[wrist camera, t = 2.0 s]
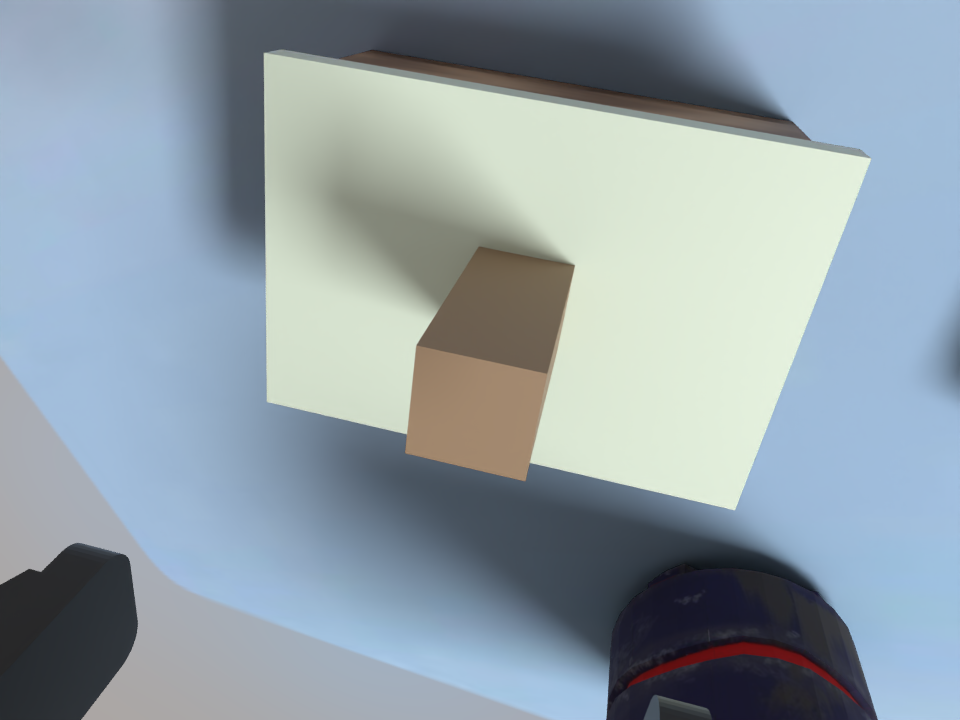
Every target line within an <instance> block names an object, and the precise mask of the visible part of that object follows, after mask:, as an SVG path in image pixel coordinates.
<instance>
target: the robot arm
mask: <svg viewBox="0 0 960 720" xmlns="http://www.w3.org/2000/svg"><path fill="white" fill-rule="evenodd" d="M137 627H138V620H137V613H136V605H135V597H134V590H133V583H132V575H131V567H130V561H129V559H128V557H126V555H123V554H120V553H116V552H112V551H109V550H104V549H101V548H97V547H93V546H89V545H85V544H82V543H75V544H72V545H70V546H69V547H67V548H66V549H65V550H64V551H62V552H61V553H60V554H59V555H58V556H57V557H56V558H55V559H54V560H53V561H52V562H51V563H50V564H49V565H48V566H47V567H46V568H45V569H44V570H43V571H42V572H38V571H35V570H31V569H28V570H26V571H25V572H23V573H21V574H19V575H18V576H16V577H14V578H12V579H10V580H8V581H7V582H5V583H3V584H1V585H0V720H81V719H82V718H83V717H84V715H85V714H86V713H87V711H88V710H89V709H90V707H91V706H92V704H93V703H94V702H95V701H96V699H97V698H98V697H99V696H100V694H101V693H102V692H103V690H104V689H105V688H106V686H107V685H108V684H109V682H110V681H111V680H112V678H113V677H114V676H115V674H116V673H117V672H118V671H119V669H120V668H121V667H122V665H123V664H124V662H125V661H126V659H127V657H128V655H129V653H130V651H131V649H132V647H133V644H134V641H135V638H136V634H137ZM644 720H712V718H711V714H710V711H709V710H708V709H707V708H704V707H700V706H696V705H692V704H689V703H685V702H681V701H677V700H673V699H669V698H666V697H662V696H658V695H654V696H653V697H652V699H651V701H650V704H649V707H648V709H647V712H646V714H645V717H644Z"/></svg>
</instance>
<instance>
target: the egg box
mask: <svg viewBox="0 0 960 720" xmlns="http://www.w3.org/2000/svg"><path fill="white" fill-rule="evenodd" d="M339 59H341V60H347V61H353V62H358V63H364V64H370V65H376V66H382V67H387V68H393V69H399V70H405V71H410V72H416V73H422V74H428V75H434V76H439V77H445V78H451V79H457V80H462V81H468V82H474V83H480V84H486V85H491V86H497V87H503V88H509V89H514V90H520V91H526V92H532V93H538V94H543V95H549V96H555V97H561V98H566V99H572V100H578V101H584V102H590V103H595V104H601V105H607V106H613V107H618V108H624V109H630V110H636V111H642V112H647V113H653V114H659V115H665V116H670V117H676V118H682V119H688V120H694V121H699V122H705V123H711V124H717V125H722V126H728V127H734V128H740V129H746V130H751V131H757V132H763V133H769V134H774V135H780V136H786V137H792V138H798V139H803V140H809V141H811V140H810V139H809V138H808V137H807V136H806V135H805V134H804V133H803V132H802V131H801V130H800V129H799V128H798V127H797V126H796V125H795V124H794V123H793V122H792V121H786V120H780V119H774V118H768V117H762V116H756V115H751V114H745V113H739V112H733V111H727V110H721V109H715V108H710V107H704V106H698V105H692V104H686V103H680V102H674V101H669V100H663V99H657V98H651V97H645V96H639V95H633V94H628V93H622V92H616V91H610V90H604V89H598V88H592V87H587V86H581V85H575V84H569V83H563V82H557V81H551V80H546V79H540V78H534V77H528V76H522V75H516V74H510V73H504V72H499V71H493V70H487V69H481V68H475V67H469V66H463V65H458V64H452V63H446V62H440V61H434V60H428V59H422V58H417V57H411V56H405V55H399V54H393V53H387V52H381V51H376V50H370V51H366V52H362V53H358V54H355V55H351V56H347V57H343V58H339Z"/></svg>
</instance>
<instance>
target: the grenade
mask: <svg viewBox="0 0 960 720" xmlns="http://www.w3.org/2000/svg"><path fill="white" fill-rule="evenodd" d="M654 695H658V696H662V697H666V698H669V699H673V700H677V701H681V702H685V703H689V704H692V705H696V706H700V707H704V708H707V709H708V710H709V711H710V714H711V718H712V720H878V719H877V716H876V713H875V710H874V706H873V703H872V700H871V697H870V693H869V690H868V687H867V684H866V680H865V677H864V674H863V671H862V667H861V664H860V661H859V658H858V654H857V651H856V648H855V645H854V642H853V640H852V637H851V635H850V632H849V629H848V627H847V626H846V624H845V623H844V622H843V620H842V619H841V618H840V616H839V615H838V614H837V613H836V611H835V610H834V609H833V608H832V607H831V606H829V605H828V604H827V603H826V602H825V601H824V600H823V599H822V597H821V596H820V595H819V593H818V592H816V591H809V590H807V589H805V588H803V587H801V586H799V585H797V584H795V583H793V582H792V581H790V580H787V579H783V578H780V577H777V576H773V575H770V574H767V573H763V572H758V571H750V570H743V569H735V568H723V569H702V570H696V569H694V568H693V567H691V566H688V565H686V564H682V565H679V566H677V567H675V568H672V569H670V570H668V571H665V572H664V573H662V574H661V575H660V576H658V577H657V578H655V579H654V580H653V581H651V582H650V583H648V588H647V589H646V590H644V591H643V592H641V593H640V594H639V595H637V596H636V597H634V598H633V599H632V601H631V602H630V603H629V604H628V605H627V606H626V608H625V609H624V610H623V611H622V612H621V613H620V615H619V618H618V620H617V622H616V625H615V627H614V629H613V632H612V641H611V652H610V670H609V687H608V705H607V719H606V720H644V717H645V714H646V712H647V709H648V707H649V704H650V701H651V699H652V697H653V696H654Z"/></svg>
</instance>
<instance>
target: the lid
mask: <svg viewBox="0 0 960 720" xmlns="http://www.w3.org/2000/svg"><path fill="white" fill-rule="evenodd" d="M264 133H265V246H266V359H267V402H269V403H274V404H278V405H282V406H287V407H291V408H295V409H300V410H304V411H308V412H313V413H317V414H321V415H326V416H330V417H334V418H339V419H343V420H347V421H352V422H356V423H360V424H365V425H369V426H373V427H377V428H382V429H386V430H390V431H395V432H399V433H403V434H407V439H406V449H405V453H406V454H411V455H415V456H419V457H423V458H428V459H432V460H436V461H440V462H445V463H449V464H453V465H457V466H462V467H466V468H470V469H475V470H479V471H483V472H487V473H492V474H496V475H500V476H504V477H509V478H513V479H517V480H521V481H526V477H527V472H528V468H529V464H530V463H533V464H537V465H542V466H546V467H550V468H555V469H559V470H563V471H568V472H572V473H576V474H581V475H585V476H589V477H593V478H598V479H602V480H606V481H611V482H615V483H619V484H624V485H628V486H632V487H637V488H641V489H645V490H650V491H654V492H658V493H663V494H667V495H671V496H676V497H680V498H684V499H689V500H693V501H697V502H701V503H706V504H710V505H714V506H719V507H723V508H727V509H732V510H735V509H736V506H737V503H738V501H739V498H740V496H741V493H742V491H743V488H744V485H745V483H746V480H747V478H748V475H749V473H750V470H751V467H752V465H753V462H754V460H755V457H756V454H757V452H758V449H759V447H760V444H761V442H762V439H763V436H764V434H765V431H766V429H767V426H768V424H769V421H770V418H771V416H772V413H773V411H774V408H775V406H776V403H777V400H778V398H779V395H780V393H781V390H782V388H783V385H784V382H785V380H786V377H787V375H788V372H789V370H790V367H791V364H792V362H793V359H794V357H795V354H796V352H797V349H798V346H799V344H800V341H801V339H802V336H803V334H804V331H805V328H806V326H807V323H808V321H809V318H810V315H811V313H812V310H813V308H814V305H815V303H816V300H817V297H818V295H819V292H820V290H821V287H822V285H823V282H824V279H825V277H826V274H827V272H828V269H829V267H830V264H831V261H832V259H833V256H834V254H835V251H836V249H837V246H838V243H839V241H840V238H841V236H842V233H843V231H844V228H845V225H846V223H847V220H848V218H849V215H850V213H851V210H852V207H853V205H854V202H855V200H856V197H857V194H858V192H859V189H860V187H861V184H862V182H863V179H864V176H865V174H866V171H867V169H868V166H869V164H870V161H871V158H870V157H869V156H868V155H866V154H865V153H864V152H863V151H861V150H860V149H855V148H850V147H844V146H838V145H832V144H826V143H821V142H815V141H809V140H803V139H798V138H792V137H786V136H780V135H774V134H769V133H763V132H757V131H751V130H746V129H740V128H734V127H728V126H722V125H717V124H711V123H705V122H699V121H694V120H688V119H682V118H676V117H670V116H665V115H659V114H653V113H647V112H642V111H636V110H630V109H624V108H618V107H613V106H607V105H601V104H595V103H590V102H584V101H578V100H572V99H566V98H561V97H555V96H549V95H543V94H538V93H532V92H526V91H520V90H514V89H509V88H503V87H497V86H491V85H486V84H480V83H474V82H468V81H462V80H457V79H451V78H445V77H439V76H434V75H428V74H422V73H416V72H410V71H405V70H399V69H393V68H387V67H382V66H376V65H370V64H364V63H358V62H353V61H347V60H341V59H335V58H330V57H324V56H318V55H312V54H306V53H301V52H295V51H289V50H283V49H281V50H275V51H270V52H265V53H264Z"/></svg>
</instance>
